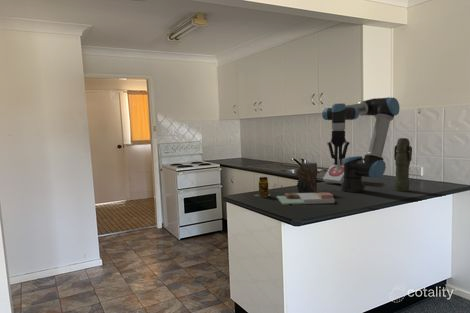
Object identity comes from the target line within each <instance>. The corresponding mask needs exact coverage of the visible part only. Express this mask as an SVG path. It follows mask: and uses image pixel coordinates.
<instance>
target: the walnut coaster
mask: <svg viewBox="0 0 470 313" xmlns="http://www.w3.org/2000/svg"><path fill="white" fill-rule="evenodd" d="M297 193H298V192H285V193H284V196H285V197H286V198H287V199H297V198H299V195H298V194H297Z"/></svg>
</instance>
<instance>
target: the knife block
mask: <svg viewBox="0 0 470 313" xmlns="http://www.w3.org/2000/svg"><path fill="white" fill-rule="evenodd" d="M297 176H298V178H299V179H298V180H297V184H296V187H297V191H298V193H317V190H318V187H317V186H318V182H317V181H318V180H317V176H318V165H317V162H309V161H308V162H299V168H298V170H297Z"/></svg>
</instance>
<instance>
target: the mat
mask: <svg viewBox="0 0 470 313" xmlns="http://www.w3.org/2000/svg"><path fill="white" fill-rule="evenodd" d="M276 199H277V200H278V201H279V202H280V203H281V204H282V205H283V206H288V205H289V204H292V205H305V204H304V202H303V201H301V200H300V199H299V198H297V199H287V198H286V197H285V195H276Z"/></svg>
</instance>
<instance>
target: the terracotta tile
mask: <svg viewBox="0 0 470 313" xmlns="http://www.w3.org/2000/svg"><path fill="white" fill-rule="evenodd" d="M317 193H318V197H320V198H321V199H329V198H334V195H333V194H332V193H330V192H324V193H322V192H317Z"/></svg>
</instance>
